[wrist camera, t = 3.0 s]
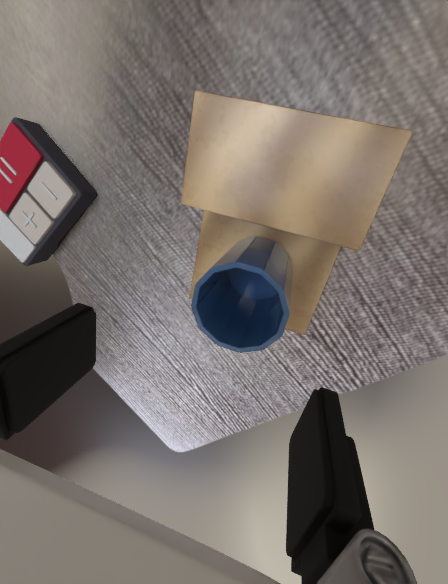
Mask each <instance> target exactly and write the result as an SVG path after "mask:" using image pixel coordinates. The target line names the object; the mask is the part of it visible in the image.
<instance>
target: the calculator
mask: <svg viewBox="0 0 448 584" xmlns="http://www.w3.org/2000/svg"><path fill="white" fill-rule="evenodd" d="M96 195H97V193H96V191H95V190H94V189H93V188H92V186H91V185H90V184H89V183H88V182H87V181H86V179H85V178H84V177H83V176H82V175H81V174H80V172H79V171H78V170H77V169H76V168H75V167H74V165H73V164H72V163H71V162H70V161H69V159H68V158H67V157H66V156H65V155H64V154H63V152H62V151H61V150H60V149H59V148H58V147H57V145H56V144H55V143H54V142H53V141H52V140H51V138H50V137H49V136H48V135H47V134H46V133H45V131H44V130H43V129H42V128H41V127H40V126H39V124H37V123H34V122H31V121H27V120H23V119H20V118H16V117H15V118H13V120H12V121H11V123H10V124H9V126H8V128H7V130H6V132H5V133H4V135H3V137H2V139H1V141H0V240H1V241H2V242H3V243H4V244H5V245H6V246H7V247H8V249H9V250H10V251H11V252H12V253H13V254H14V255H15V256H16V257H17V258H18V259H19V260H20V261H21V262H22V263H23V264H24V265H25V266H28V265H32V264H35V263H39V262H42V261H46V260H48V258H49V257H50V256H51V255H52V254H53V252H54V251H55V250H56V249H57V247H58V243H59V242H60V240H61V239H62V238H63V237H64V236H65V234H66V233H67V232H68V231H69V229H70V228H71V227H72V226H73V224H74V223H75V222H76V221H77V219H78V218H79V217H80V216H81V214H82V213H83V212H84V211H85V209H86V208H87V207H88V206H89V205H90V203H91V202H92V201H93V200H94V198H95V197H96Z"/></svg>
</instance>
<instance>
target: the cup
mask: <svg viewBox="0 0 448 584" xmlns="http://www.w3.org/2000/svg"><path fill="white" fill-rule="evenodd" d="M292 281H293V270H292V265H291V261H290V257H289V254H288V253H287V252H286V251H285V250H284V249H283V248H282V247H281V246H280V245H279V244H278V243H277V242H275V241H272V240H269V239H266V238H261V237H252V238H249V239H245V240H241V241H239V242H237V243H236V244H235V245H234V246H233V247H232V248H231V249H230V250H229V251H228V252H227V253H226V254H225V255H224V256H223V257H222V258H221V259H220V260H218V261H217V262H216V263H215V264H214V265H213V266H212V267H211V268H210V269H209V270H208V271H207V272H206V273H205V274H204V275H203V276H202V278H201V279H200V280H199V281H198V282H197V283H196V284H195V287H194V292H193V298H192V304H191V308H192V311H193V314H194V316H195V319H196V322H197V324H198V327H199V328H200V330H201V331H202V332H203V333H204V334H205V335H206V336H208V337H209V338H210V339H211V340H212V341H213V342H214V343H215V344H217V345H218V346H221V347H224V348H227V349H230V350H233V351H236V352H240V353H241V352H250V351H259V350H262V349H263V350H264V349H265V348H266V347H268V346H269V345H271V344H272V343H273V342H275V341H276V340H278V339H279V338H280V337H281V336H282V335H283V332H284V329H285V326H286V324H287V321H288V318H289V316H290V305H291V293H292Z"/></svg>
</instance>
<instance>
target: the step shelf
mask: <svg viewBox="0 0 448 584" xmlns="http://www.w3.org/2000/svg"><path fill="white" fill-rule="evenodd" d="M411 135H412V131H409V130H404V129H399V128H393V127H388V126H383V125H377V124H372V123H367V122H361V121H356V120H351V119H345V118H340V117H335V116H329V115H324V114H319V113H313V112H308V111H303V110H297V109H292V108H287V107H281V106H276V105H271V104H265V103H260V102H255V101H249V100H244V99H239V98H233V97H228V96H223V95H217V94H212V93H207V92H201V91H195V97H194V105H193V112H192V120H191V128H190V136H189V143H188V151H187V159H186V167H185V174H184V182H183V190H182V198H181V204H183V205H187V206H190V207H194V208H198V209H202V210H204V213H203V219H202V225H201V231H200V237H199V243H198V249H197V255H196V261H195V267H194V273H193V279H192V285H191V291H190V297H189V298H191V299H192V298H193V292H194V287H195V284H196V283H197V282H198V281H199V280H200V279H201V278H202V276H203V275H204V274H205V273H206V272H207V271H208V270H209V269H210V268H211V267H212V266H213V265H214V264H215V263H216V262H217V261H218V260H220V259H221V258H222V257H223V256H224V255H225V254H226V253H227V252H228V251H229V250H230V249H231V248H232V247H233V246H234V245H235V244H236V243H237V242H239V241H241V240H245V239H249V238H252V237H261V238H266V239H269V240H272V241H275V242H277V243H278V244H279V245H280V246H281V247H282V248H283V249H284V250H285V251H286V252H287V253H288V254H289V257H290V261H291V265H292V270H293V281H292V293H291V305H290V316H289V318H288V321H287V324H286V326H285V329H287V330H290V331H294V332H297V333H300V334H303V335H305V333H306V330H307V328H308V325H309V323H310V320H311V318H312V316H313V313H314V311H315V308H316V306H317V304H318V301H319V299H320V296H321V294H322V292H323V289H324V287H325V284H326V282H327V279H328V277H329V275H330V272H331V270H332V267H333V265H334V263H335V260H336V258H337V255H338V253H339V251H340V248H341V246H343V247H347V248H350V249H354V250H358V251H359V250H360V248H361V246H362V244H363V241H364V239H365V237H366V235H367V233H368V230H369V228H370V226H371V224H372V221H373V219H374V217H375V215H376V213H377V210H378V208H379V206H380V204H381V201H382V199H383V197H384V195H385V192H386V190H387V188H388V186H389V184H390V181H391V179H392V177H393V175H394V172H395V170H396V168H397V166H398V164H399V161H400V159H401V157H402V155H403V152H404V150H405V148H406V146H407V144H408V141H409V139H410V137H411Z"/></svg>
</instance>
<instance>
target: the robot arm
mask: <svg viewBox="0 0 448 584" xmlns="http://www.w3.org/2000/svg"><path fill="white" fill-rule="evenodd" d="M95 362H96V313H95V312H94V309H93V308H92V307H90V306H87V305H84V304H81V303H77V304H75V305H73V306H71V307H69V308H67V309H65V310H64V311H62V312H60V313H58V314H56V315H54V316H52V317H50V318H49V319H47V320H45V321H43V322H41V323H39V324H37V325H35V326H33V327H32V328H30V329H28V330H26V331H24V332H22V333H20V334H19V335H17V336H15V337H13V338H11V339H9V340H7V341H5V342H3V343H1V344H0V438H2V439H4V440H8V439H9V438H10V437H11V436H12V435H13V434H14V433H18V432H20V431H22V430H23V429H24V428H26V427H27V426H28V425H29V424H30V423H31V422H32V421H33V420H35V419H36V418H37V417H38V416H39V415H40V414H41V413H42V412H44V411H45V410H46V409H47V408H48V407H49V406H50V405H51V404H52V403H54V402H55V401H56V400H57V399H58V398H59V397H60V396H62V395H63V394H64V393H65V392H66V391H67V390H68V389H69V388H71V387H72V386H73V385H74V384H75V383H76V382H77V381H78V380H80V379H81V378H82V377H83V376H84V375H85V374H86V373H87V372H89V371H90V370H91V369H92V368H93V366H94V365H95ZM286 553H287V555H288V556H290V557H292V563H291V566H292V567H291V571H292V572H294V573H296V574H298V575H301V576H302V584H417V581H416V579H415V576H414V573H413V570H412V569H411V567H410V565H409V563H408V561H407V560H406V558H405V557H404V555H403V554H402V553H401V551H400V550H399V549H398V547H397V546H396V545H395V544H394V543H393V542H391V541H390V540H389V539H388V538H387V537H386V536H384V535H382V534H381V533H379V532H378V531H375V530H374V526H373V522H372V517H371V513H370V508H369V504H368V500H367V495H366V491H365V486H364V482H363V477H362V473H361V468H360V464H359V460H358V455H357V451H356V446H355V443H354V440H353V439H352V438H351V437H348V436H346V433H345V428H344V422H343V417H342V412H341V407H340V402H339V397H338V394H337V392H334V391H331V390H328V389H325V388H322V387H321V388H320V389H319V390H316V389H314V391H313V392H312V394H311V396H310V399H309V401H308V403H307V405H306V407H305V409H304V411H303V413H302V415H301V417H300V419H299V421H298V423H297V425H296V427H295V429H294V431H293V433H292V436H291V439H290V443H289V469H288V502H287V534H286ZM0 584H280V583H278V582H277V581H275V580H273V579H271V578H270V577H268V576H266V575H264V574H262V573H261V572H259V571H257V570H255V569H252V568H251V567H249V566H246V565H245V564H243V563H240V562H239V561H237V560H234V559H233V558H230V557H228V556H226V555H224V554H223V553H220V552H218V551H216V550H214V549H212V548H210V547H208V546H206V545H204V544H202V543H200V542H198V541H195V540H194V539H192V538H189V537H187V536H185V535H183V534H181V533H179V532H176V531H175V530H172V529H170V528H168V527H166V526H164V525H162V524H160V523H158V522H155V521H154V520H151V519H149V518H147V517H145V516H143V515H141V514H139V513H137V512H135V511H132V510H130V509H128V508H126V507H124V506H122V505H120V504H117V503H115V502H113V501H111V500H109V499H107V498H104V497H102V496H100V495H98V494H96V493H94V492H92V491H89V490H87V489H85V488H83V487H81V486H79V485H77V484H75V483H72V482H70V481H68V480H66V479H64V478H62V477H60V476H57V475H55V474H53V473H51V472H49V471H47V470H44V469H42V468H40V467H38V466H36V465H34V464H31V463H29V462H27V461H25V460H23V459H21V458H18V457H16V456H14V455H12V454H9V453H7V452H5V451H3V450H1V449H0Z"/></svg>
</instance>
